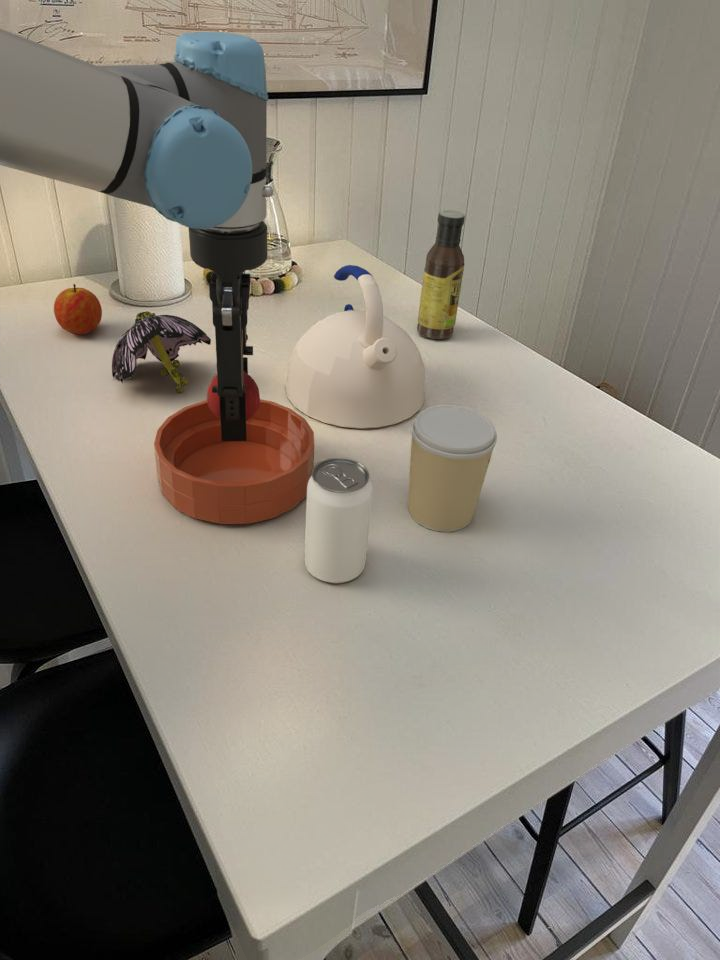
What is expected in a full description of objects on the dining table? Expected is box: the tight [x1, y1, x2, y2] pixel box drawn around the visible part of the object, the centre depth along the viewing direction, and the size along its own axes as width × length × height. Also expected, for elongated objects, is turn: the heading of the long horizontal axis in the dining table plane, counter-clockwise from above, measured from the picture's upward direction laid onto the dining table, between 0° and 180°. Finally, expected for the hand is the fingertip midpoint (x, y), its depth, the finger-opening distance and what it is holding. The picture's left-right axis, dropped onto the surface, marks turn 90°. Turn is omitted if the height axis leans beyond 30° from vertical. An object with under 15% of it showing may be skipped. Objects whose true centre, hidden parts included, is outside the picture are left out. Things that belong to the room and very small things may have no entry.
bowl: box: [153, 398, 316, 525], centre depth 89 cm, size 18×18×6 cm
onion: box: [206, 371, 261, 421], centre depth 84 cm, size 6×6×8 cm
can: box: [304, 457, 373, 585], centre depth 77 cm, size 6×6×12 cm
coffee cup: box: [407, 404, 498, 533], centre depth 85 cm, size 9×9×12 cm
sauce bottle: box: [416, 209, 466, 340], centre depth 121 cm, size 6×6×20 cm
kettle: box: [284, 264, 426, 430], centre depth 104 cm, size 20×21×18 cm
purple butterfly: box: [111, 311, 212, 394], centre depth 105 cm, size 14×12×15 cm
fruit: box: [53, 283, 103, 336], centre depth 116 cm, size 7×7×8 cm
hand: (235, 422), depth 86 cm, fingers closed on onion, 6 cm apart
